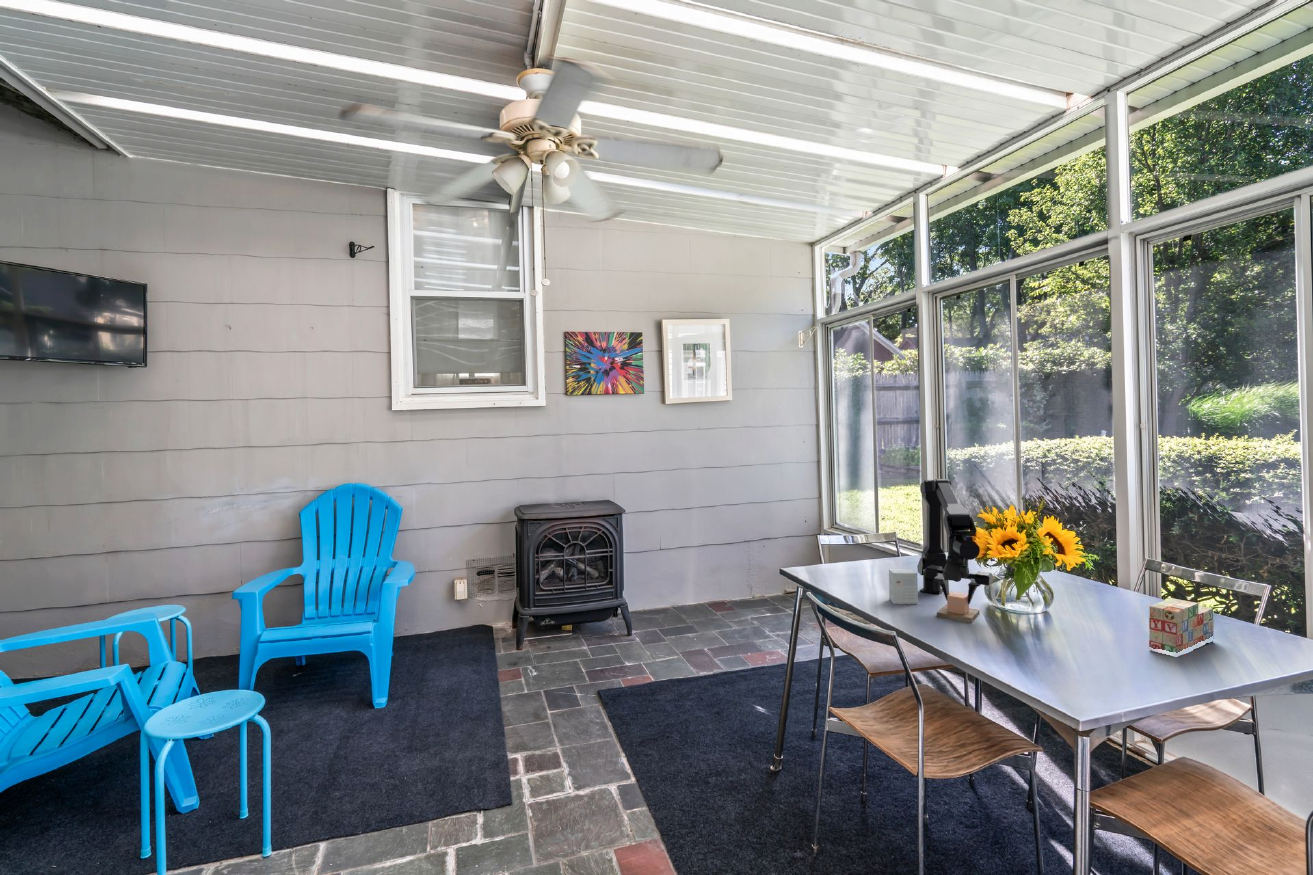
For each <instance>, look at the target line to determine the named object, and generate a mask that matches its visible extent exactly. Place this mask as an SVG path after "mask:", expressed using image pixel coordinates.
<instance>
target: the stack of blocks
mask: <svg viewBox="0 0 1313 875" xmlns="http://www.w3.org/2000/svg"><path fill="white" fill-rule="evenodd" d="M1148 618H1149V620H1148V622H1149V623H1148V625H1149V626H1148V627H1149V629H1148V630H1149V640H1148V641H1149V642H1148V646H1149V647H1151V648H1153V649H1162V650H1166V651H1169V652H1176V653H1178V652H1180V651H1182V650H1183V649H1186V648H1188V647H1192V646H1193V645H1195V644H1197V643H1198V642H1201V641H1205V640H1206V639H1209V638H1210V637H1212V636H1213V637H1214V627H1215V626H1214V608H1213V607H1207V606H1204V605H1199V602H1194V601H1188V600H1184V599H1183V600H1182V599H1177V598H1174V597H1171V598H1167V599H1165V600H1162V601H1159V602H1157V603H1154V604H1151V605H1149V616H1148ZM1149 647H1148V648H1149Z"/></svg>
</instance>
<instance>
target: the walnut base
mask: <svg viewBox="0 0 1313 875" xmlns="http://www.w3.org/2000/svg"><path fill="white" fill-rule="evenodd" d="M980 613H981V612H980V609H976V608H970V607H969V611H968V612H967V613H966V614H965V615H964V614H959V613H953V612H947V604H944V606H943V605H942V607H941V608H940V609H939V610H938V611H937V612H936V618H939V619H940V618H941V619H946V620H952V621H958V622H959V621H960V622H963V621H965V623H969V624H972V623H974V622H975V620H976V619H977V618H978V617H979V616H980ZM978 615H979V616H978Z"/></svg>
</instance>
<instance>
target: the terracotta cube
mask: <svg viewBox="0 0 1313 875" xmlns="http://www.w3.org/2000/svg"><path fill="white" fill-rule="evenodd" d="M946 601H947V603H946V605H947V612H953V613H959V614H964V615H965V614H966V613H967V612H968V611H969V608H970V604H968V593H961V592H954V591H951V592H949V595H947V600H946Z"/></svg>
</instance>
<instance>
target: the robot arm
mask: <svg viewBox="0 0 1313 875" xmlns="http://www.w3.org/2000/svg"><path fill="white" fill-rule="evenodd" d="M919 490H920V494H921V497H922V499H923V501H924V503H926V544H925V546H924V548H923V550H922V551H921V554H920V558H919V561H918V564H917V565H916V566H917V568H916V569H917V574H920V576H922V579H923V580H922V588H921V589H919V592H921V593H927V594H934V595H941V593H943V595H944V598H945V601H947V595H949V594H950V588H949V587H950V586H949V585H950V584H949V582H950V581H953V582H961V581H962V579H965V580H970V582H968V591H967V592H968V593H967V594H968V604H969V605H970V604H971V601H972V599H973V596H974V594H975V592H976V590H977V588H978V587H980V586H981V585H982V586H990V585H991V584H992V583H993V582H994V575H993V573H992V572H989V571H982V570H981V571H980V570H979V571H977V572H976V573H973V572H970V568H969V561H971V560H975V559H976V558H978V556H979V555H980V553H981V549H980V546H979V544H978V543H977V542H976V541H974V539H973V537H977V528H976V525H975V521H974V519H973V517H972V515H970V513H969V511H968V510H967V508H965V507H963V506H961V504H959V501H958V499H957V496H956V494H955V492H954V490H953V488H952V483H951V480H950V479H947V478H936V479H924V480H923V482H921V483H920V486H919ZM942 509H943V512H944V515H943V519H942ZM942 520H943V526H944V528H945V531H946V535H947V555H946V553H945V551H944V550H943V548H942Z"/></svg>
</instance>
